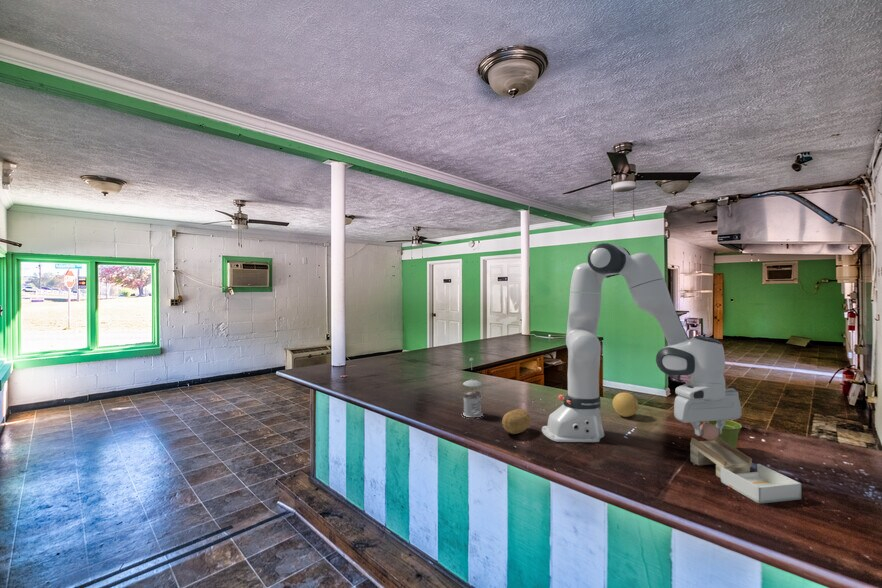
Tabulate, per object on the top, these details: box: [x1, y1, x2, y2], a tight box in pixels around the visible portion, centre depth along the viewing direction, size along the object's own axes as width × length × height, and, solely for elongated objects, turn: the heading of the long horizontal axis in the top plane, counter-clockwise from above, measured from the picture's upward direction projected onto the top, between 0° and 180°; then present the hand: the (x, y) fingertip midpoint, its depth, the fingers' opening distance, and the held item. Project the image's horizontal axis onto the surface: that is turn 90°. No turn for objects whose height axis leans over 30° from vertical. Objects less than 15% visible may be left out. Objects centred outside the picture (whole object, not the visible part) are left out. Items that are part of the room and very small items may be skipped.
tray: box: [720, 463, 802, 505], centre depth 103 cm, size 12×11×4 cm
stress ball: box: [612, 392, 640, 418], centre depth 163 cm, size 10×10×10 cm
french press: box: [462, 357, 484, 418], centre depth 169 cm, size 10×12×25 cm
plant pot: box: [706, 419, 743, 449], centre depth 128 cm, size 9×9×9 cm
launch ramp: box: [689, 437, 753, 479], centre depth 115 cm, size 9×12×7 cm
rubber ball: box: [699, 422, 719, 441], centre depth 119 cm, size 5×5×5 cm
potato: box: [501, 408, 531, 435], centre depth 147 cm, size 10×14×8 cm
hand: (708, 434), depth 119 cm, fingers closed on rubber ball, 5 cm apart
